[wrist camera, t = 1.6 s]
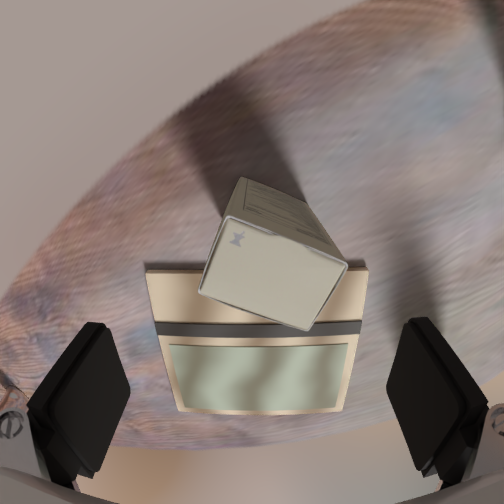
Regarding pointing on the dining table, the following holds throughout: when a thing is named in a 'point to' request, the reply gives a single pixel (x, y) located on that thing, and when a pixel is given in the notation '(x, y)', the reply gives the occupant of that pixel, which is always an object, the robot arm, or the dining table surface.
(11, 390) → the beer glass
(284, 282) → the skincare box
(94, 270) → the dining table surface
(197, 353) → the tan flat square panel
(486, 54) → the dining table surface
